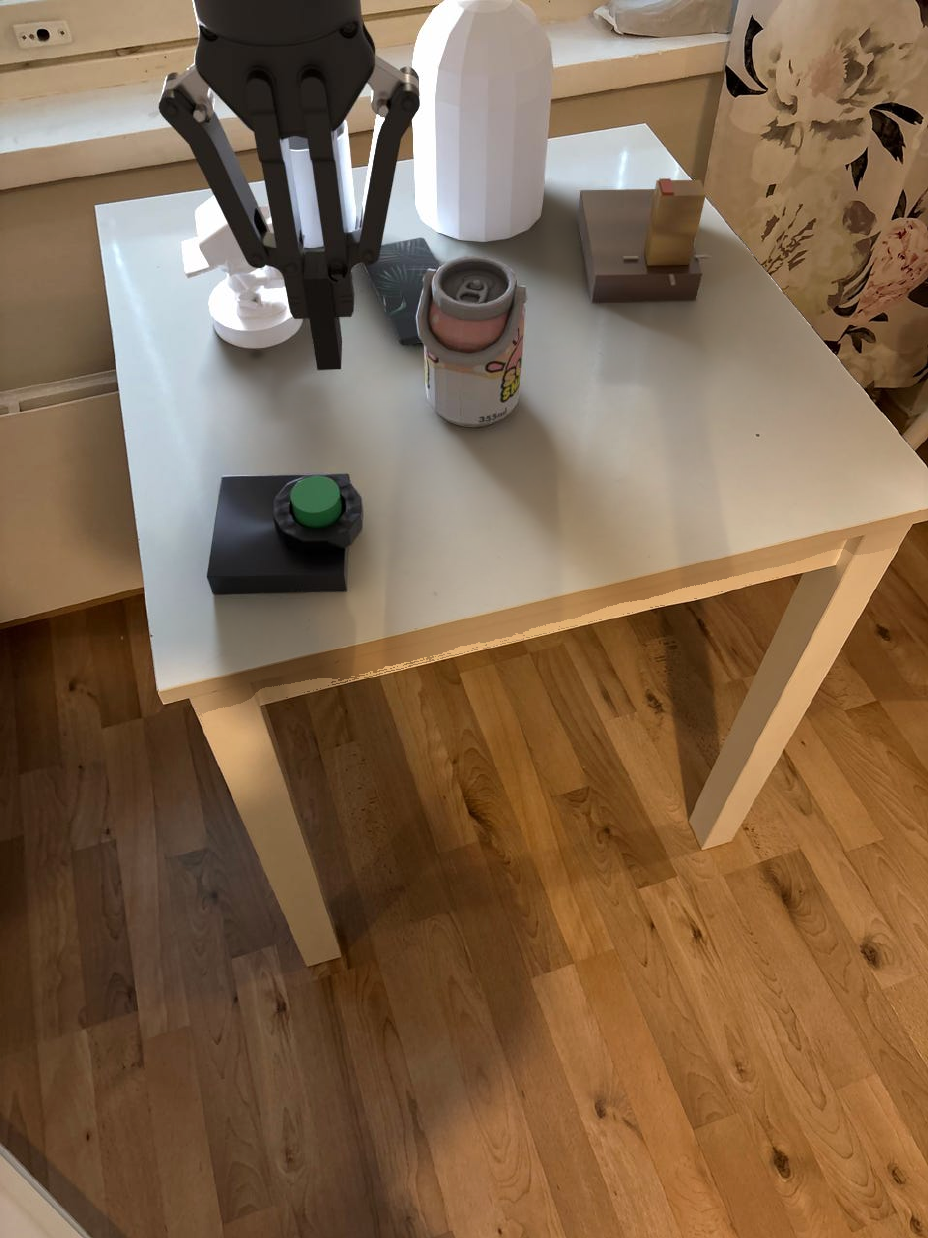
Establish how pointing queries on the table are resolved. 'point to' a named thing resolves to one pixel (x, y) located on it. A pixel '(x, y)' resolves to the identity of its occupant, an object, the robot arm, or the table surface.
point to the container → (482, 118)
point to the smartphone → (402, 283)
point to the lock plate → (628, 251)
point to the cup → (308, 190)
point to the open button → (316, 501)
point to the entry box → (279, 538)
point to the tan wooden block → (673, 221)
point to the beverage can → (472, 339)
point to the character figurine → (238, 284)
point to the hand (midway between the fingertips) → (330, 355)
